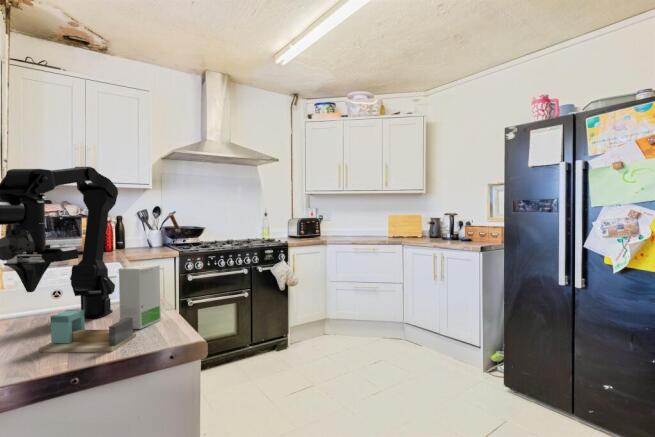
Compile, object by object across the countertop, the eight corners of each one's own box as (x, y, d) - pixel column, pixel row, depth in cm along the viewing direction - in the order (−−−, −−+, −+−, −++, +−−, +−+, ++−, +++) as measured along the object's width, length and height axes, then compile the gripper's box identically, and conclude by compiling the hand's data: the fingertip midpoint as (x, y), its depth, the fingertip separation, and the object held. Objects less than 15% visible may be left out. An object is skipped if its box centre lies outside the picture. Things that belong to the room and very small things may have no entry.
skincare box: (139, 330, 87) (138, 269, 86) (117, 328, 88) (116, 268, 88) (162, 319, 95) (161, 264, 94) (141, 318, 96) (140, 263, 96)
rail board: (38, 351, 74) (38, 328, 73) (70, 336, 83) (70, 316, 82) (111, 351, 73) (111, 328, 73) (136, 336, 82) (135, 315, 82)
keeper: (51, 343, 76) (50, 316, 76) (68, 335, 80) (67, 309, 80) (69, 342, 76) (68, 316, 75) (84, 335, 80) (84, 309, 80)
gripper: (-52, 225, 70) (-49, 301, 70) (38, 224, 69) (40, 301, 70) (1, 223, 81) (3, 289, 81) (79, 223, 81) (80, 288, 81)
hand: (30, 291), depth 78 cm, fingers closed
